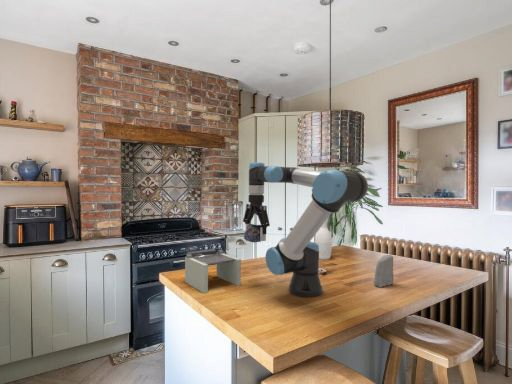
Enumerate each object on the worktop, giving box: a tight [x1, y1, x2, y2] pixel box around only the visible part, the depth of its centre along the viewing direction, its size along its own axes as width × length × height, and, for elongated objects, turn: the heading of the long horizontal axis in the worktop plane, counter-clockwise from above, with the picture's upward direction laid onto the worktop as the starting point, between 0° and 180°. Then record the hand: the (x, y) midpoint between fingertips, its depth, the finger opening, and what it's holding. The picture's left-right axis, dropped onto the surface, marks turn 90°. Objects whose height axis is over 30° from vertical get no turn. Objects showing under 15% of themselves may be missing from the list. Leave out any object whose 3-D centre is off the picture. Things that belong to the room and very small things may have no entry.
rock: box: [243, 223, 262, 243], centre depth 153 cm, size 11×10×10 cm
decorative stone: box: [373, 254, 395, 288], centre depth 154 cm, size 11×6×15 cm, turn 124°
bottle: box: [314, 220, 333, 260], centre depth 212 cm, size 11×11×25 cm
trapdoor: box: [186, 248, 235, 266], centre depth 156 cm, size 21×15×7 cm
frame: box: [184, 249, 242, 294], centre depth 154 cm, size 20×20×14 cm
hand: (255, 238), depth 152 cm, fingers closed on rock, 12 cm apart
